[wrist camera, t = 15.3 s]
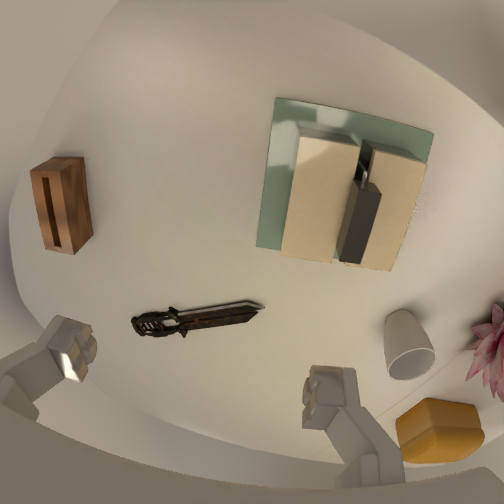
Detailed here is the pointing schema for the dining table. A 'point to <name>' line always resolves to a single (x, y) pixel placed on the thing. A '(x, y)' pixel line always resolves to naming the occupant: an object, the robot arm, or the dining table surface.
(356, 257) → the metal bench scraper
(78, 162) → the knife block
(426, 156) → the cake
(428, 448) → the bread
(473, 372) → the decorative flower
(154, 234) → the dining table surface
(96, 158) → the dining table surface
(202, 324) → the knife
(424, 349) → the cup
